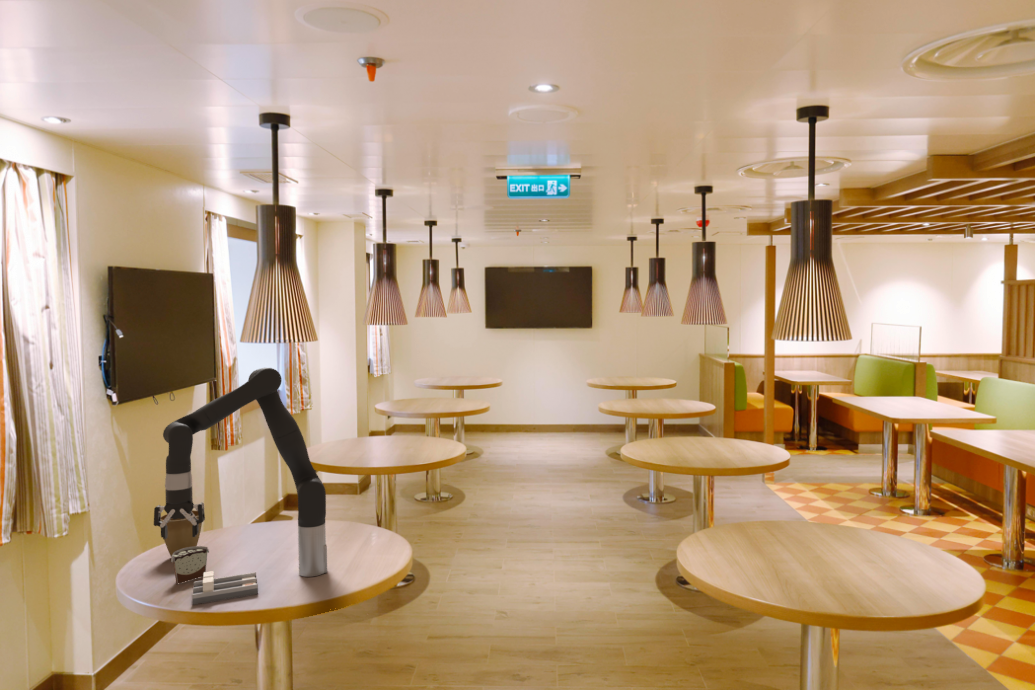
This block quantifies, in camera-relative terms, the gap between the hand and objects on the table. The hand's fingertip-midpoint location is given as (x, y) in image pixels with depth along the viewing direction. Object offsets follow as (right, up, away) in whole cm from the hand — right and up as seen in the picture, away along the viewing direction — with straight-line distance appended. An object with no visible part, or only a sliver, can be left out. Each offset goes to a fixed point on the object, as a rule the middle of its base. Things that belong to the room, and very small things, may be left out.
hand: (179, 537), depth 203 cm
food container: (-8, -21, +20) cm, 30 cm away
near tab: (+8, -18, +2) cm, 20 cm away
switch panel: (+11, -20, +7) cm, 24 cm away
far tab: (+6, -18, +8) cm, 20 cm away
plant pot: (-22, -20, +43) cm, 52 cm away
